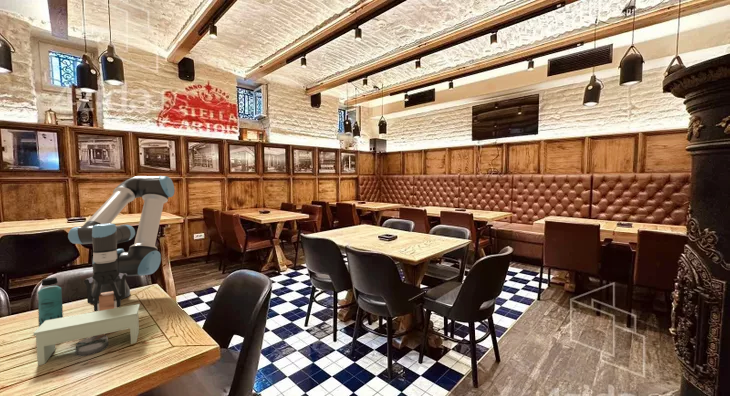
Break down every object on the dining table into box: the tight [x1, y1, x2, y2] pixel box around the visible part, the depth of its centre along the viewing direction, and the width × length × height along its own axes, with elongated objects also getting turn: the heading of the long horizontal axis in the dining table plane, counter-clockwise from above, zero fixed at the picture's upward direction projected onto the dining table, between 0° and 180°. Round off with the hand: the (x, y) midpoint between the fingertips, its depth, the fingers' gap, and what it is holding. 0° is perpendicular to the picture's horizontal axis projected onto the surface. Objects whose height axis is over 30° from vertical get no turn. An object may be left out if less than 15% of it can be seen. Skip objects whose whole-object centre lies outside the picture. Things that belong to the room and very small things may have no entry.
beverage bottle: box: [37, 277, 64, 328], centre depth 113 cm, size 6×7×20 cm
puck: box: [74, 334, 109, 357], centre depth 100 cm, size 8×8×3 cm
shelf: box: [32, 303, 141, 366], centre depth 101 cm, size 10×25×10 cm, turn 123°
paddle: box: [92, 291, 115, 337], centre depth 116 cm, size 22×4×10 cm, turn 33°
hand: (108, 316), depth 124 cm, fingers closed on paddle, 4 cm apart
